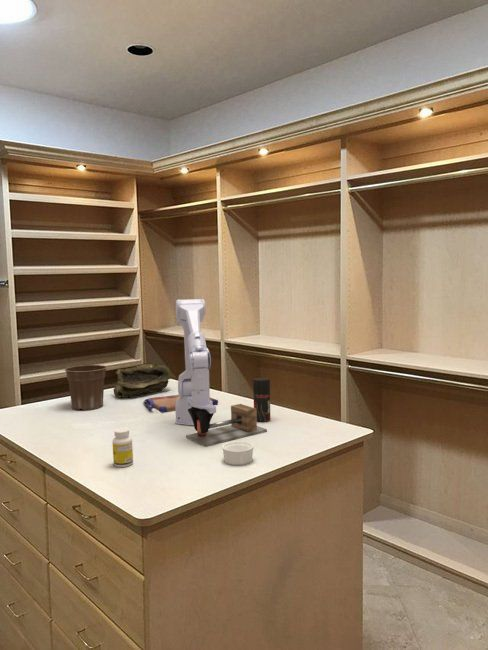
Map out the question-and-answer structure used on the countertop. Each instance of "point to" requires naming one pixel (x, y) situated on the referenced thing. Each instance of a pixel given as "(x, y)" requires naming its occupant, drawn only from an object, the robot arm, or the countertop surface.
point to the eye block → (232, 427)
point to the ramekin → (238, 452)
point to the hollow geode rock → (141, 379)
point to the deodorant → (262, 398)
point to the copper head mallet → (216, 425)
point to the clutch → (166, 403)
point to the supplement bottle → (122, 448)
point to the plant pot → (86, 386)
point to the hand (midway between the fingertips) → (201, 431)
